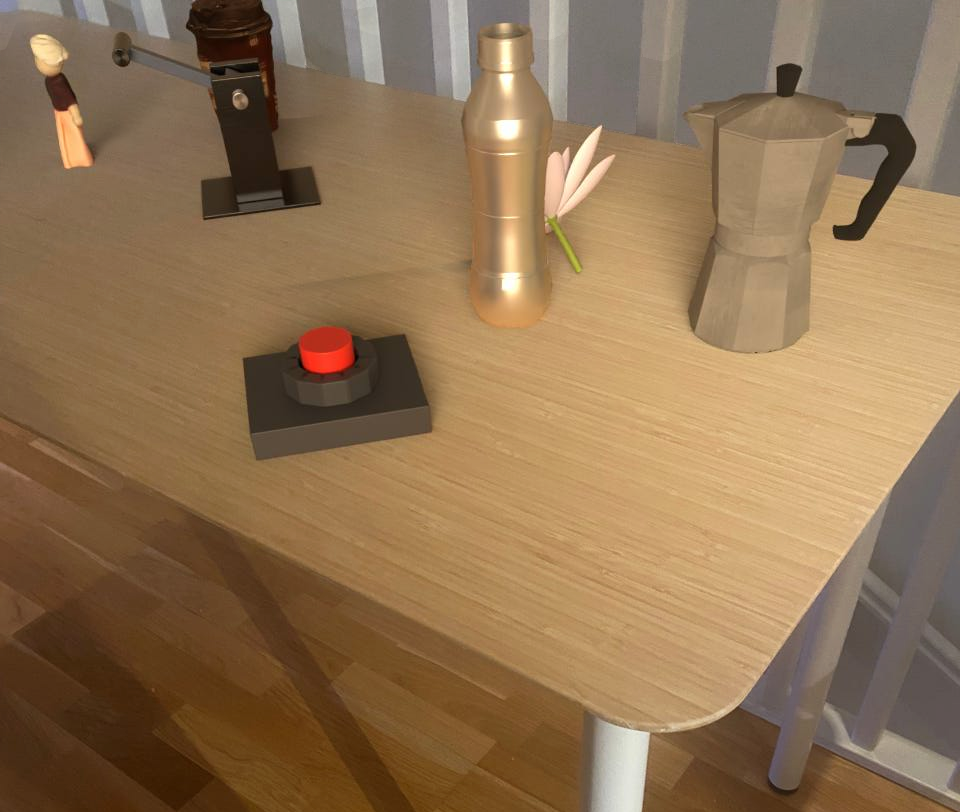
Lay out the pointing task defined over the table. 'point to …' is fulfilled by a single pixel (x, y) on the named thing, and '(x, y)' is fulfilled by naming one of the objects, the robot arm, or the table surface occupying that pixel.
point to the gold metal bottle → (508, 179)
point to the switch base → (334, 399)
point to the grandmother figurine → (62, 100)
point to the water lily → (570, 187)
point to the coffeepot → (778, 205)
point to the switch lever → (159, 61)
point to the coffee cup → (235, 40)
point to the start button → (326, 350)
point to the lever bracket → (250, 151)
